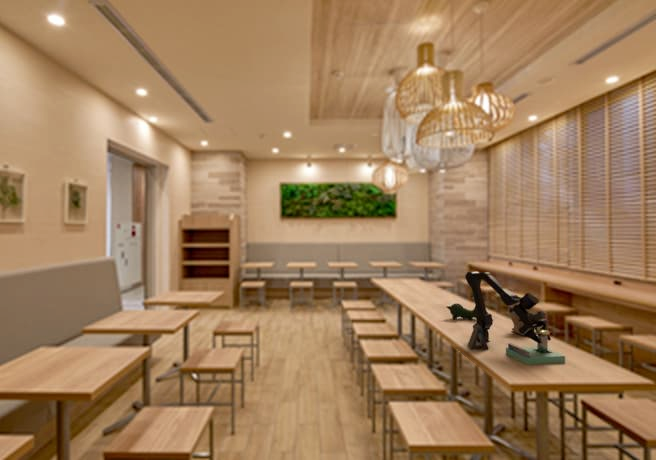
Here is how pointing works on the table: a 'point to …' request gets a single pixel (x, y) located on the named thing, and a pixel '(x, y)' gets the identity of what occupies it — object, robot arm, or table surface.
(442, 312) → the table surface
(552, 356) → the jig
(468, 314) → the toy figurine
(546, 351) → the metal peg
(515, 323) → the tan boot
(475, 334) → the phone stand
